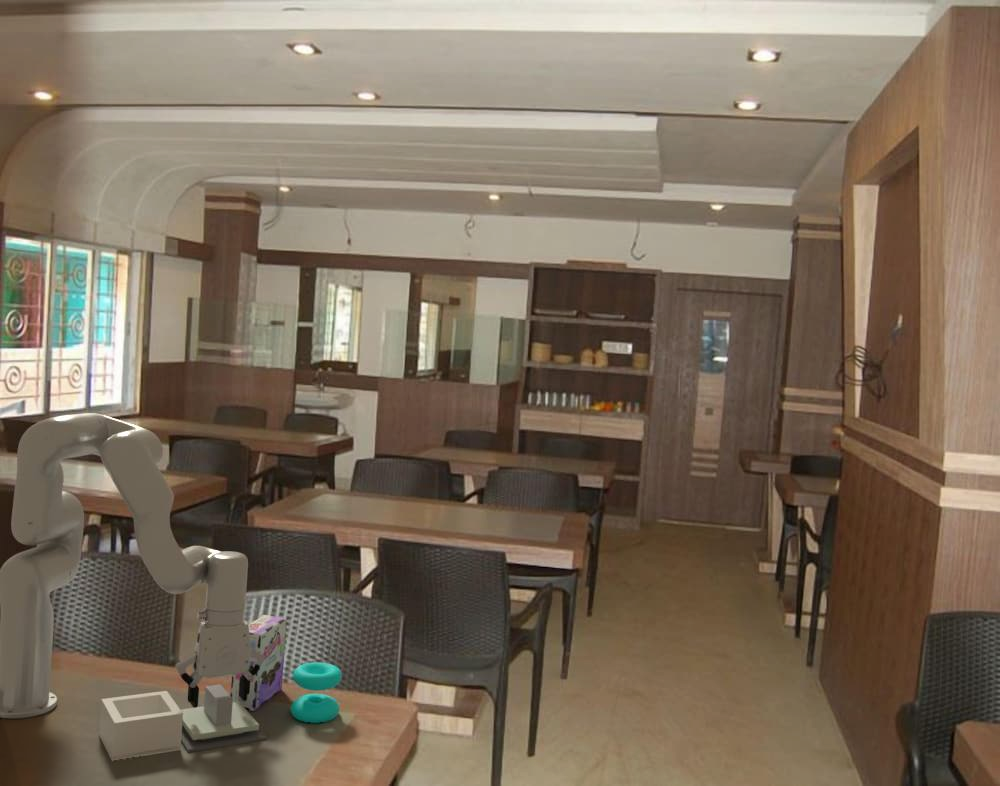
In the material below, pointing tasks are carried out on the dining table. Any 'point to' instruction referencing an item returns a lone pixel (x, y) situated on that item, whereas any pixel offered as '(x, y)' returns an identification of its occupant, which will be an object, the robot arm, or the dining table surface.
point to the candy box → (270, 643)
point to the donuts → (316, 705)
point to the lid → (217, 716)
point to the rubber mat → (219, 740)
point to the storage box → (140, 725)
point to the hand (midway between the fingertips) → (218, 701)
